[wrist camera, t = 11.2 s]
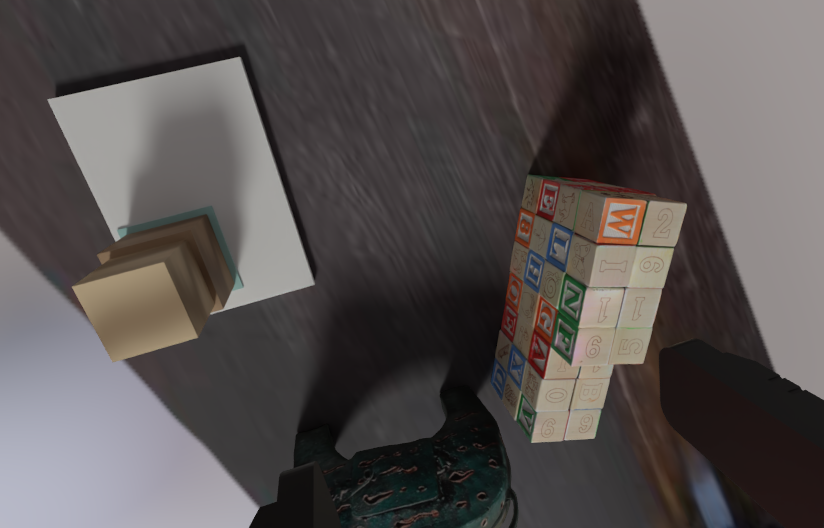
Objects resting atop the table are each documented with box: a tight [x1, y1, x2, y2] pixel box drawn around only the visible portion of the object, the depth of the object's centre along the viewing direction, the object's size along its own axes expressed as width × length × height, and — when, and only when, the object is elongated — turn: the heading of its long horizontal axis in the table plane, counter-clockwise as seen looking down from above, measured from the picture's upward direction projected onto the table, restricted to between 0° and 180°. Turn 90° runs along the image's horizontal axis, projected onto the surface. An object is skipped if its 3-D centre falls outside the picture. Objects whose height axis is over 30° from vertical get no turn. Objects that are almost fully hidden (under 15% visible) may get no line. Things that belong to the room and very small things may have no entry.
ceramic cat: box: [294, 386, 518, 528], centre depth 36 cm, size 20×6×20 cm, turn 101°
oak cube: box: [72, 239, 215, 362], centre depth 29 cm, size 5×5×5 cm
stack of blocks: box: [491, 175, 687, 443], centre depth 39 cm, size 21×6×12 cm, turn 174°
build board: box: [48, 57, 315, 314], centre depth 35 cm, size 18×13×1 cm
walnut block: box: [97, 214, 235, 312], centre depth 33 cm, size 6×6×5 cm
